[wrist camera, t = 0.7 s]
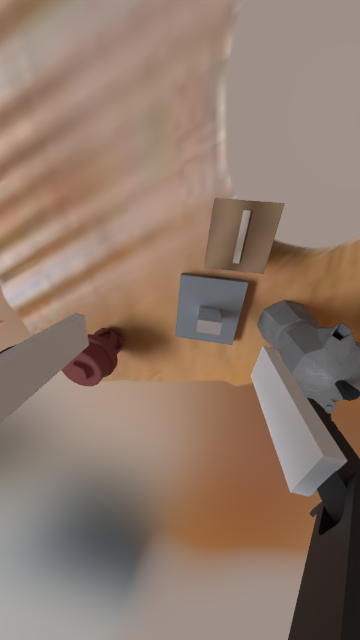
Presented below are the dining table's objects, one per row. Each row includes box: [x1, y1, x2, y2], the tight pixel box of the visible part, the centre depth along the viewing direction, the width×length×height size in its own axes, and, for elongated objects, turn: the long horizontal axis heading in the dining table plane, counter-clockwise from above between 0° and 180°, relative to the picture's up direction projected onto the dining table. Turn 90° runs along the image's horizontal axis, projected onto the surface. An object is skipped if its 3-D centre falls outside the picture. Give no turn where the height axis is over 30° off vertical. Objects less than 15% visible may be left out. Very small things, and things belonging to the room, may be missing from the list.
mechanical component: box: [62, 328, 124, 386], centre depth 35 cm, size 12×10×10 cm
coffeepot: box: [257, 300, 360, 418], centre depth 26 cm, size 15×9×18 cm, turn 10°
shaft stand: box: [176, 273, 248, 345], centre depth 30 cm, size 13×12×8 cm
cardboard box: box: [205, 198, 284, 274], centre depth 25 cm, size 8×8×8 cm
